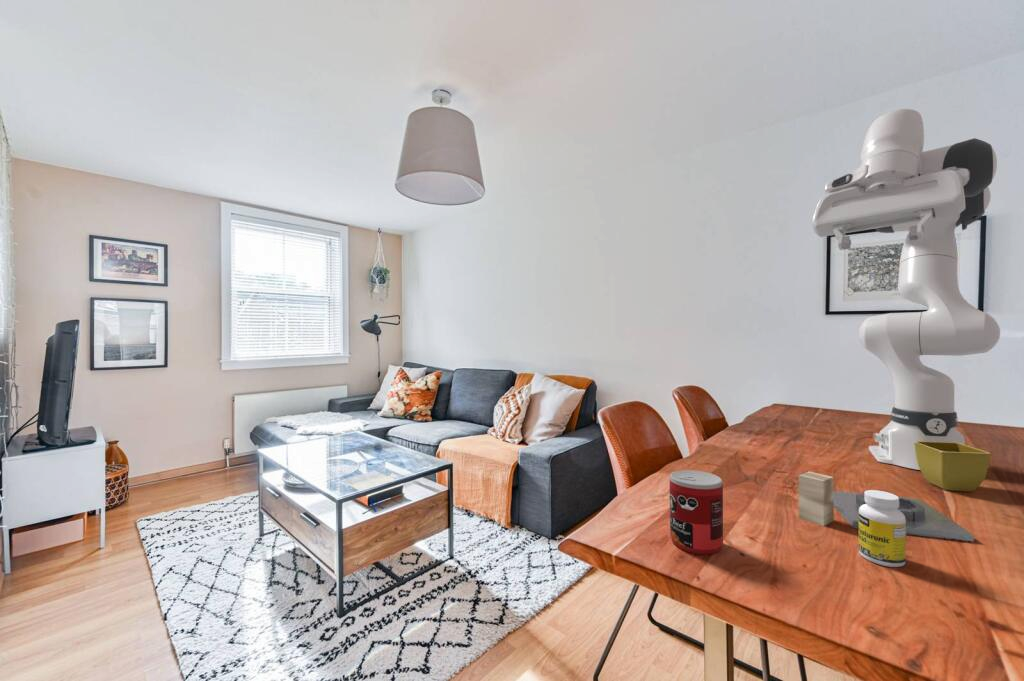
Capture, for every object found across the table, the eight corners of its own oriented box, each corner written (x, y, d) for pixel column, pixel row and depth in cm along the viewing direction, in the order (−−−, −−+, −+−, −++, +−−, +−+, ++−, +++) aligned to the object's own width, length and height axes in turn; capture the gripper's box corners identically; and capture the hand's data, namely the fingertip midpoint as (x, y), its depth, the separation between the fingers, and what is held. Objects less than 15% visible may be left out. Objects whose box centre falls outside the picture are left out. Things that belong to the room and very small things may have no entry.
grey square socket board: (823, 495, 90) (823, 482, 90) (920, 505, 85) (920, 491, 85) (853, 527, 75) (853, 512, 75) (973, 542, 70) (973, 525, 70)
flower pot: (992, 496, 89) (992, 452, 89) (942, 493, 90) (942, 451, 90) (957, 482, 97) (957, 442, 97) (912, 479, 99) (912, 441, 99)
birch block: (809, 513, 82) (808, 471, 82) (833, 520, 78) (833, 477, 78) (798, 518, 80) (798, 475, 80) (823, 526, 76) (823, 481, 76)
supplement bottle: (849, 552, 67) (849, 490, 67) (875, 547, 68) (875, 486, 68) (888, 571, 62) (888, 503, 62) (915, 565, 63) (915, 498, 63)
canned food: (663, 533, 75) (663, 469, 74) (710, 532, 74) (710, 469, 74) (679, 555, 67) (679, 485, 67) (732, 555, 67) (731, 485, 66)
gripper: (971, 177, 72) (968, 243, 67) (824, 207, 87) (813, 262, 83) (968, 149, 68) (964, 216, 64) (816, 185, 84) (804, 241, 79)
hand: (877, 242), depth 73 cm, fingers open, 8 cm apart
